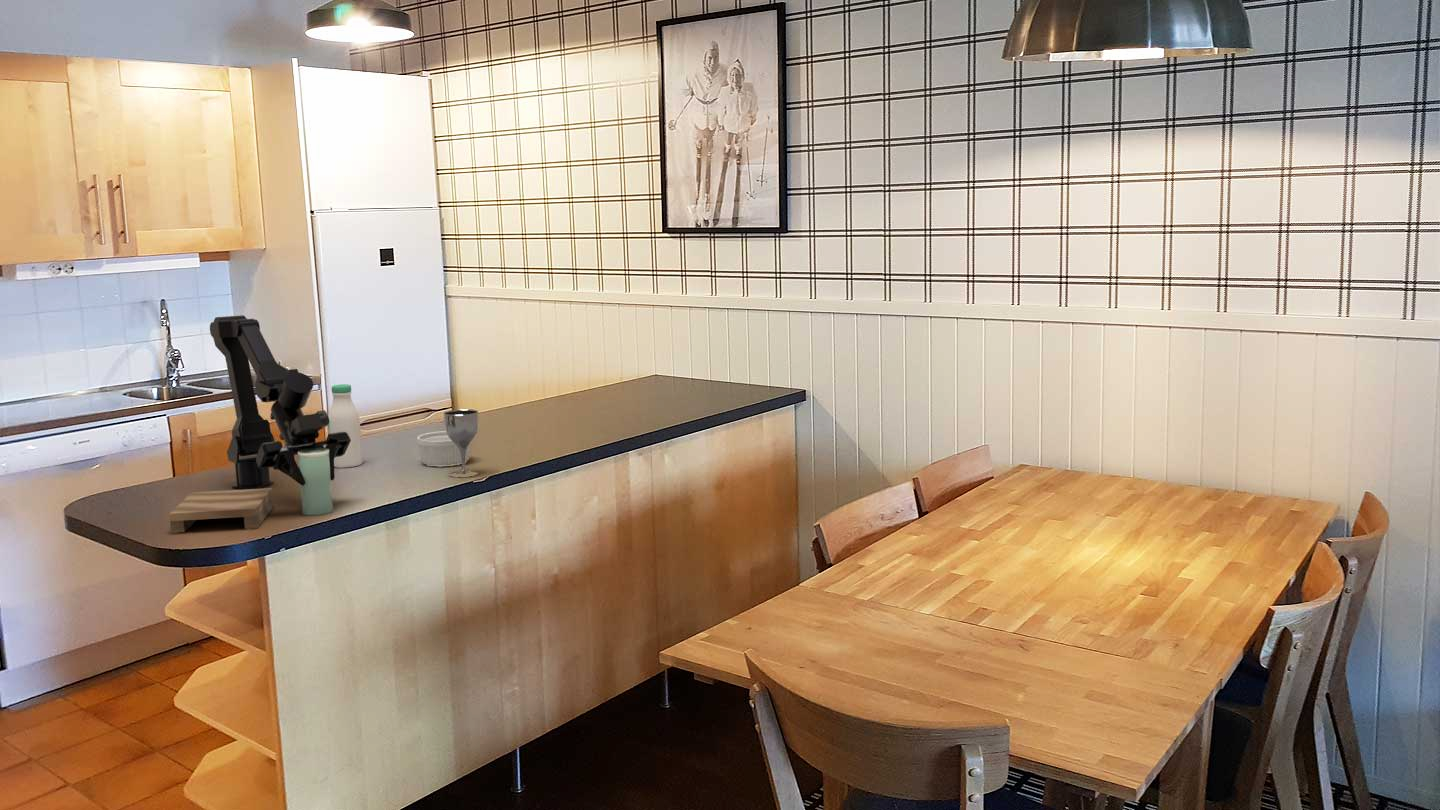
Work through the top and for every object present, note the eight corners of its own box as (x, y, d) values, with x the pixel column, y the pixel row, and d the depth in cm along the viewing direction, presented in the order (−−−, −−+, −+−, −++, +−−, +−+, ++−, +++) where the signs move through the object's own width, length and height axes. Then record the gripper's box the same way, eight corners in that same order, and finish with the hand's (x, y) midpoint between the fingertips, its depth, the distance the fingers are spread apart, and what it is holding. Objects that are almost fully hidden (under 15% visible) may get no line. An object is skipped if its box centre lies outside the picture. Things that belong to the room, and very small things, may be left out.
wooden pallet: (193, 511, 244) (191, 492, 244) (273, 506, 247) (272, 488, 247) (171, 533, 227) (169, 513, 226) (257, 528, 230) (256, 508, 229)
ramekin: (458, 469, 282) (457, 441, 281) (408, 467, 285) (407, 439, 283) (481, 458, 294) (480, 431, 293) (433, 456, 297) (432, 430, 296)
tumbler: (296, 514, 241) (291, 452, 238) (314, 507, 246) (309, 447, 244) (321, 516, 239) (317, 454, 237) (339, 508, 245) (334, 448, 243)
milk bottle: (369, 463, 290) (364, 383, 287) (347, 469, 283) (342, 388, 280) (345, 460, 293) (340, 382, 290) (323, 466, 286) (317, 386, 283)
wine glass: (473, 478, 271) (469, 415, 269) (441, 477, 273) (437, 414, 271) (486, 471, 279) (483, 409, 277) (455, 470, 281) (452, 409, 278)
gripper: (257, 404, 235) (284, 466, 229) (343, 394, 248) (371, 451, 242) (244, 437, 242) (270, 498, 236) (329, 425, 255) (356, 482, 249)
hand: (318, 481), depth 241 cm, fingers closed on tumbler, 6 cm apart
